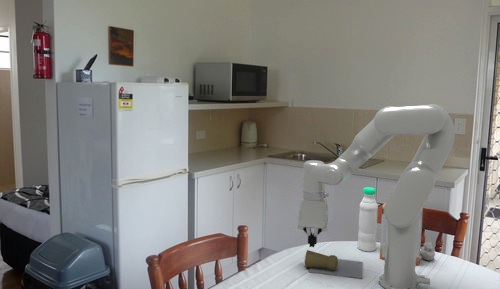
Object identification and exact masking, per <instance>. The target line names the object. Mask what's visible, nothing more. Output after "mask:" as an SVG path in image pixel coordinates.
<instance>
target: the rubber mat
mask: <svg viewBox="0 0 500 289" xmlns="http://www.w3.org/2000/svg"><path fill="white" fill-rule="evenodd" d="M363 264H364V263H363V261H359V260H349V259H342V258H341V259H340V258H338V266H337V269H336V270H329V269H328V268H314V267H309V270H308V273H312V274H319V275H326V276H333V277H334V276H336V277H344V278H351V279H353V278H354V279H359V280H361V279H362V280H363V271H364V270H363V268H364V267H363Z"/></svg>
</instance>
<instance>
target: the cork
mask: <svg viewBox="0 0 500 289" xmlns="http://www.w3.org/2000/svg"><path fill="white" fill-rule="evenodd" d="M338 259H339V258H338V256H336V255H335V254H334V255H333V254H330V255H326V254H322V253H320V252H316V251H312V250H308V249H307V250H306V252H305V255H304V267H305V268H310V267H314V268H328V269H329V270H336V269H337V266H338Z"/></svg>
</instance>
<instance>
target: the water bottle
mask: <svg viewBox="0 0 500 289" xmlns="http://www.w3.org/2000/svg"><path fill="white" fill-rule="evenodd" d="M362 193H363V197H362V200H361V201H360V203H359V215H358V232H357V233H358V234H357V235H358V236H357V238H358V240H357V248H358V249H359V250H360V251H363V252H373V251H375V250H376V249H377V248H376V246H377V242H376V241H377V228H378V227H377V226H378V209H379V205H378V203H377V200H376V198H375V196H376V194H377V190H376V188H375V187H371V186H367V187H363V191H362Z"/></svg>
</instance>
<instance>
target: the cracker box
mask: <svg viewBox="0 0 500 289" xmlns="http://www.w3.org/2000/svg"><path fill="white" fill-rule="evenodd" d="M385 204H386V202H384V203H383V205H382V206H381V207H382V208H381V224H380V225H381V227H380V243H379V244H380V246H379V259H381V260H385V246H386V230H387V220H386V219H385V216H384V206H385ZM423 208H424V206H423V207H422V209H421V211H420V214H419V224H418V236H417V248H416V263H415V266H419V265H420V259H421V256H420V251H421V247H422V246H421V245H422V228H423V211H424V209H423Z"/></svg>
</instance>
